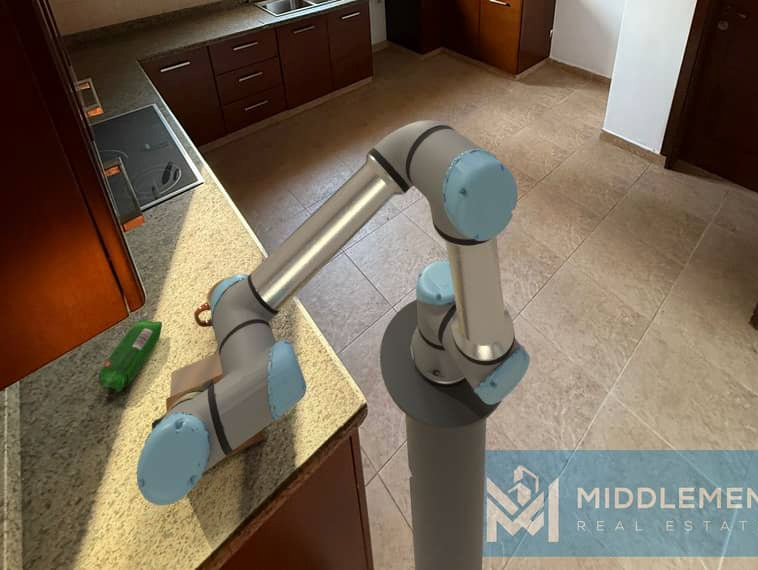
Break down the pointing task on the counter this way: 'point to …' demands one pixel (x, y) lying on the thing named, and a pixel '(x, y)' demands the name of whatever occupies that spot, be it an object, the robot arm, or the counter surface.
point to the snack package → (130, 354)
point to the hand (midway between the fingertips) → (209, 389)
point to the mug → (206, 307)
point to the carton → (202, 373)
